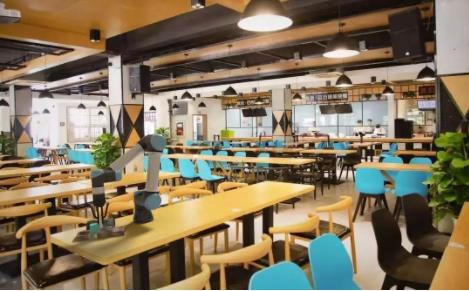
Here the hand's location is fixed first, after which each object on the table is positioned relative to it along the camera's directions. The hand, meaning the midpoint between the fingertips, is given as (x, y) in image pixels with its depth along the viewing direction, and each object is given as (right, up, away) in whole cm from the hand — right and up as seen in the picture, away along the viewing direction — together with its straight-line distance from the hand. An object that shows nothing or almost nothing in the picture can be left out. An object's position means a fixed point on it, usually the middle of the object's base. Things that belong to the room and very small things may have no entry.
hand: (101, 228), depth 234 cm
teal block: (-4, -2, -1) cm, 4 cm away
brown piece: (0, -4, 0) cm, 5 cm away
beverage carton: (-7, -4, +18) cm, 19 cm away
